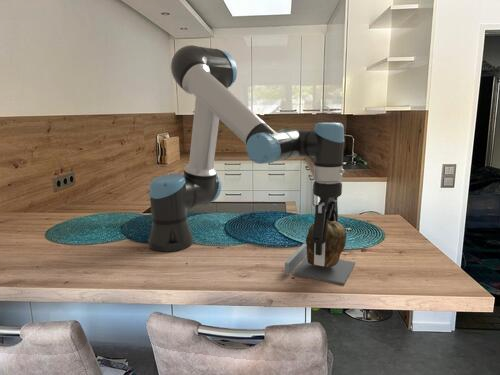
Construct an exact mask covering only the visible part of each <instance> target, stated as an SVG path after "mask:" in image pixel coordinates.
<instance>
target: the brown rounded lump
mask: <svg viewBox="0 0 500 375" xmlns="http://www.w3.org/2000/svg"><path fill="white" fill-rule="evenodd" d="M338 222H339V221H338ZM338 222H336V221H332V222H331V221H329V220H328V223H327V228H326V234H325V239H324V242H325V265H324V266H319V265H314V244H315V243H312V242H311V239H312V236H313V228H314V223H312V224H311V226H309V228H308V232H307V235H306V238H305V243H306V244H307V255H306V257H307V259H308V263H310V264H312V265H314V266H317V267H323V268H325V267H331V266H335V265H336V264H337V263H338V261H339V259H341V258H340V257H341V254H342V252H343V251H344V249H345V247H346V243H347V231H346V229H345V227H344V226H343V224H341V223H340V222H339V223H338ZM318 239H319V238H318Z"/></svg>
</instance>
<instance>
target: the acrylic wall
mask: <svg viewBox="0 0 500 375" xmlns="http://www.w3.org/2000/svg"><path fill="white" fill-rule="evenodd" d="M306 257H307V244H306V242H304V243H302V244H301V245H300V247H299V248H298V249H297V250H296V251H295V252H294V253H293V254H291V256H290V257H289V258H288V259H287V260H286V261H285V262H284V275H285V276H289V275H291V274H292V273H293V272H294V271H295V270H296V269H297V268H298V266H299V265H300V264H301V263H302V262H303V261H304V259H305V258H306Z"/></svg>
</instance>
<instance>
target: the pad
mask: <svg viewBox="0 0 500 375" xmlns="http://www.w3.org/2000/svg"><path fill="white" fill-rule="evenodd" d="M355 265H356V262H355V261H350V260H345V259H341V258H339V261H338V263H337V264H336V265H335V266H331V267H325V268H323V267H317V266H314V265H312V264H310V263H308V259H307V256H305V257H304V259H303V260H302V261H301V262H300V263H299V264H298V265H297V267H296V268H295V269H294V270H293V271H292V275H293V276H298V277H299V276H300V277H302V278H303V277H304V278H308V279H313V280H317V281H322V282H326V283H332V284H336V285H341V286H345V284H346V282H347V281H348V278H349V276H350V274H351V273H352V271H353V269H354V267H355Z"/></svg>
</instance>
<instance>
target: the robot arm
mask: <svg viewBox="0 0 500 375" xmlns="http://www.w3.org/2000/svg"><path fill="white" fill-rule="evenodd" d="M170 70H171V74H172V78H173V79H174V81H175V83H177V85H178V86H179V88H181V89H182V90H183V91H184V92H185V93H186V94H189V95H193V96H194V97H195V103H194V110H193V112H194V113H193V119H192V120H193V122H192V130H191V142H190V150H189V151H190V152H189V153H190V154H189V159H188V160H189V163H188V164H187V165H186V166H184V168H183V174H182V173H169V174H161V175H159V176H157V177H155V178H153V179H152V180H151V181H150V182H149V192H148V194H149V199H150V213H151V223H152V224H151V227H150V231H149V236H148V239H147V240H148V241H147V242H148V248H150V249H151V250H152V251H155V252H162V253H163V252H165V253H166V252H169V253H170V252H176V251H181V250H184V249H187V248H189V247H191V246H192V245H193V244H194V235H193V232H192V230H191V229H192V228H190V225H189V222H188V212H187V211H188V210H190V209H194V208H197V207H200V206H206V205H208V204H210V203H212V202H215V200H217V199H218V198H219V196H220V195H221V191H222V181H220V179H221V178H220V176H219V175H218V174H217V169H216V168H215V167H214V164H215V158H216V157H215V155H216V149H217V148H216V147H217V139H218V131H219V124H220V121H221V122H222V123H223V124H224V125H225V126H226V127H227V128H228V129H229V130H230V131H231V132H232V133H233V134H234V135H236V137H238V139H239V140H241V142H243V143H244V144H245V145H246V146H245V147H246V148H245V149H246V153H247V155H248V158H249V159H250V160H251V161H252V162H253V163H255V164H261V165H264V164H271V163H274V162H279V161H282V160H283V161H284V160H288V159H291V158H292V159H293V158H297V157H298V158H310V159H312V158H313V180H314V182H313V190H312V191H313V195H314V196H316V197H318V198H319V202H318V203H317V204H316V205H315V207H314V208H315V209H314V210H315V213H314V220H313V221H314V222H313V224H314V228H313V236H312V239H311V242H312V243H315V244H314V265H319V266H324V265H325V242H324V239H325V234H326V228H327V223H328V220H329V221H331V222H332V221H336V222H338V223H339V224H340V222H339V213H338V212H339V209H338V208H339V206H338V198H339V197H341V195H342V192H343V183H342V180H343V174H344V173H345V169H344V168H343V165H344V145H345V128H344V124H342V122H318V123H315V126H314V129H296V128H295V129H294V128H285V129H284V128H283V129H279V130H278V131H276V130H274V129H273V128H272V127H270V125H268V124H267V123H266V122H265V121H264V120H263V119H262V118H260V117H259V115H257V114H256V113H255V112H254V111H252V109H250V108H249V107H248V106H247V105H246V104H244V102H243V101H241V100H240V99H239V98H238V97H237V96H236V95H235V94H234V93H232V92H231V91H230V90H229V88H230V87H232V85H233V84H234V83H235V82H236V80H237V75H238V68H237V63H236V61H235V59H234V58H233V56H232V55H231V54H230V52H227V51H225V50H222V49H218V48H212V47H211V48H210V47H206V46H205V47H204V46H203V47H202V46H199V45H192V44H191V45H190V44H189V45H185V46H182V47H180V48H179V49H178V50H177V51H175V53H174V54H173V57H172V58H171V64H170ZM318 238H319V239H318Z"/></svg>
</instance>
